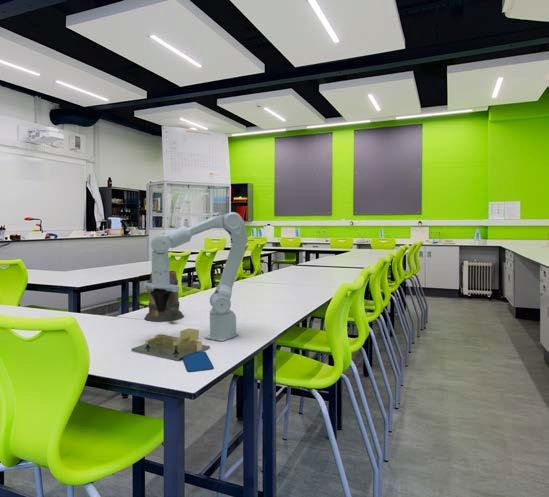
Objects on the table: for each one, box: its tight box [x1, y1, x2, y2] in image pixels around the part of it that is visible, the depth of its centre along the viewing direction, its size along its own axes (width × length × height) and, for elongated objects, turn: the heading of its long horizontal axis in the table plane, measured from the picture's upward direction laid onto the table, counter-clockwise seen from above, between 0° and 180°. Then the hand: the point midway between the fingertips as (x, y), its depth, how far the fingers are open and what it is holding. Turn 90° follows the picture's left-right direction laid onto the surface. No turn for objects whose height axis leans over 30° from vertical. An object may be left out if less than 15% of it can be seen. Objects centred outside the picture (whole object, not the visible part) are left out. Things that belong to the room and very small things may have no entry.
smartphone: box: [182, 351, 215, 373], centre depth 115 cm, size 7×1×15 cm
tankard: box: [143, 270, 185, 323], centre depth 170 cm, size 24×17×20 cm
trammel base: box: [130, 333, 211, 362], centre depth 127 cm, size 14×20×3 cm
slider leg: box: [173, 328, 200, 353], centre depth 124 cm, size 8×4×5 cm, turn 150°
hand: (161, 311), depth 135 cm, fingers closed
